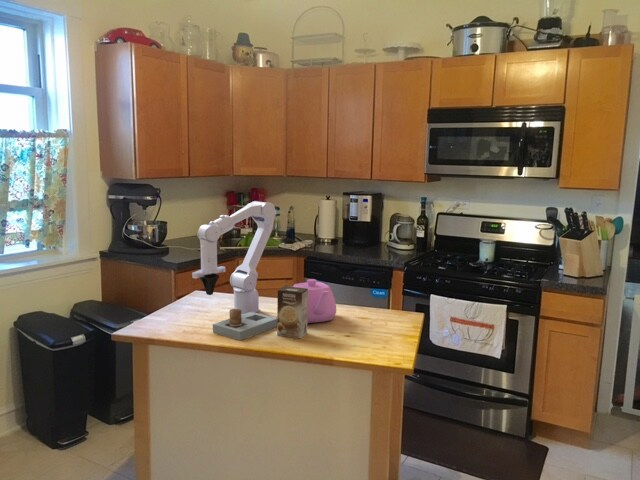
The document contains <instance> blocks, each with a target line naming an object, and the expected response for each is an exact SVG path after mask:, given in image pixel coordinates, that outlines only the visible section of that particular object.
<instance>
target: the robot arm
mask: <svg viewBox="0 0 640 480" xmlns="http://www.w3.org/2000/svg"><path fill="white" fill-rule="evenodd" d="M276 215H277V210H276V207H275V205H274V204H273V203H272V202H268V201H267V202H263V201H258V200H254V201H252V202H251V201H250V203H247V204H246V205H245V206H243V207H242V208H240V209H239V210H237V211H235V212H234V213H232V214H231V215H230V216H229V215H227V214H221V215H219V218H217V219H214V220H213V221H212V220H211V221H209V223H208V224H202V225H200V226H199V228H198V231H197V232H196V236H197V238H198V239H199V242H200V269H198V270H196V271H193V272H191V276H192V277H191V278H192V279H200V281H201V282H202V285H203V287H204V290H205V293H206V295H207V296H211V295H212V296H213V295H214V291H215V287H216V285H217V281H218V280H219V279H220V275H219V274H220V273H226V266H222V265H221V266H218V247H217V246H218V244H217V243H218V242H217V241H218V240H219V239H220V237H221V236H223V235H224V234H225V233H227V232H229V231H231V230H233V229H234V226H235V224H237V223H240V222H241V221H243V220H245V219H248V218H250V217H251V218H252V219H253V220H254V222H255V223H256V225H257V229H256V231H255V234H254V235H253V236H254V237H253V238H252V240H251V243H250V245H249V248H248V250H247V253H246V255H245V257H244V259H243V262H242V263H241V264H240V265H238V266H237V267H236V268H235V270H234V272H232V273H231V275H230V278H229V283H230V286H232V289H233V309H241V315H242V314H246V313H249V312H255V313H258V312H261V309H259V308H260V307H259V303H260V301H259V298H260V297H259V296H260V295H259V292H258V290H257V288H256V286H257V284H258V283H257V281H258V276H259V273H258V271H257V267H258V264H259V262H260V260H261V258H262V255H263V253H264V250H265V248H266V246H267V242H268V241H269V238H270V236H271V233H272V231H273V229H274V221H275V220H274V219H275V217H276ZM228 312H229V314H230V310H229V311H228Z"/></svg>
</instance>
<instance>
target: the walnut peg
mask: <svg viewBox="0 0 640 480" xmlns="http://www.w3.org/2000/svg"><path fill="white" fill-rule="evenodd" d="M229 311H230V313H229V319H230V327H233V328H238V327H241V325H242V318H241V309H234V308H232V309H230V310H229Z"/></svg>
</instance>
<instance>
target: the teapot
mask: <svg viewBox="0 0 640 480" xmlns="http://www.w3.org/2000/svg"><path fill="white" fill-rule="evenodd" d="M292 287H299V288H307V289H308V307H307V325H308V324H311V323H321V322H323V323H325V322H328V321H330V320H333V319H334V318H335V316H336V314H337V304H336V299H335V296H334V293H333V291H332V288H331V287H330V286H329V285H328V284H326V283H324V282H320V281H317V279H315V278H309V279H306V281H305V282H300V283H299V282H298V283H295V284H293V286H292Z"/></svg>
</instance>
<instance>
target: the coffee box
mask: <svg viewBox="0 0 640 480" xmlns="http://www.w3.org/2000/svg"><path fill="white" fill-rule="evenodd" d="M307 307H308V289H307V288H299V287H293V286H291V285H290V286H289V285H284V286H281V287H280V288H279V289H278V290H277V307H276V309H277V311H276V312H277V314H276V315H277V317H276V318H277V327H276V328H277V329H276V336H281V337H288V338H295V339H303V337H304V336H306V335H307V334H308V324H307Z"/></svg>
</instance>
